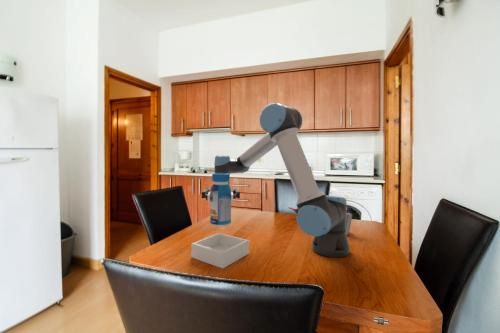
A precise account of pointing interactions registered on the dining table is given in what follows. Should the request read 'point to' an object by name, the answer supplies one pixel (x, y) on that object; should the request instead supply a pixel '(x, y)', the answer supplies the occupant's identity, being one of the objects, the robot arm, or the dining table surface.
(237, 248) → the box
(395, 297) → the dining table surface
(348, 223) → the digital clock
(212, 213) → the beverage bottle
